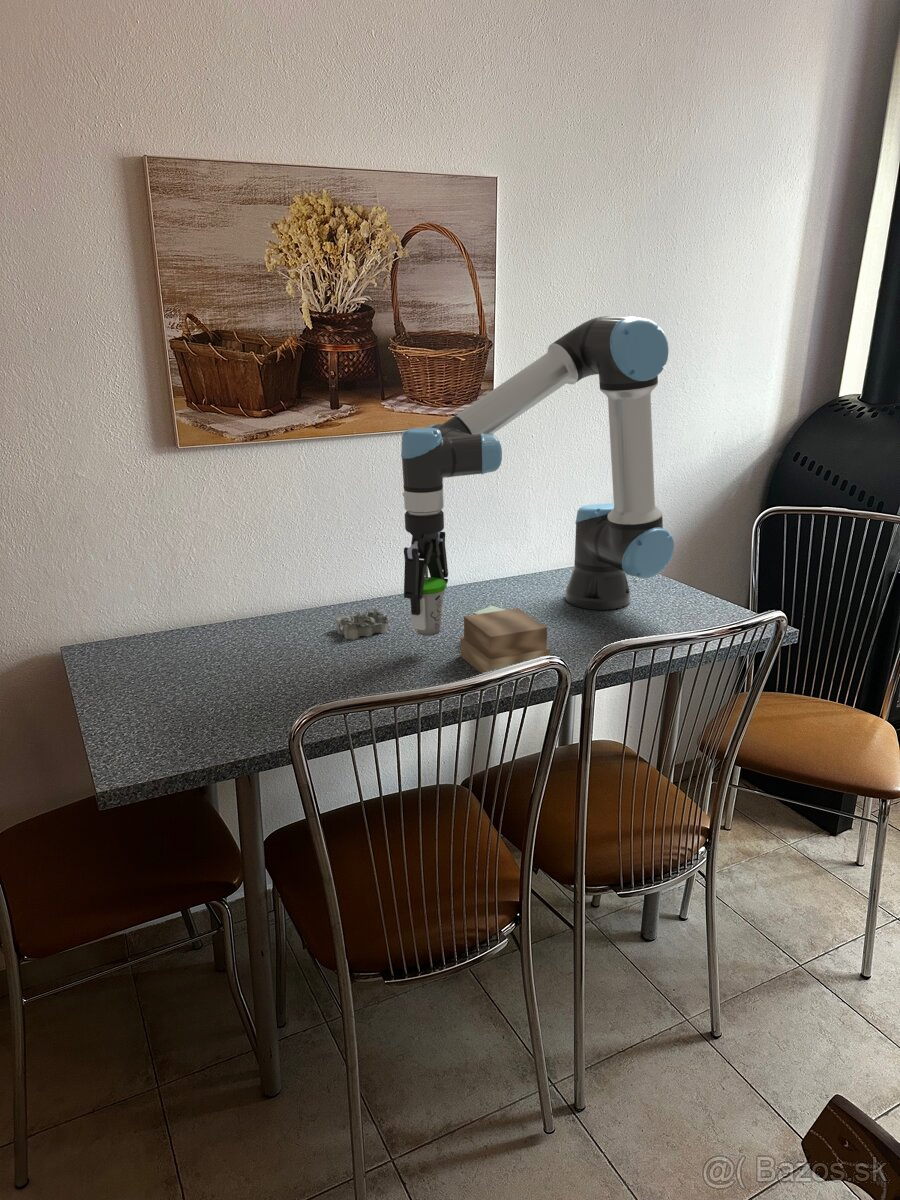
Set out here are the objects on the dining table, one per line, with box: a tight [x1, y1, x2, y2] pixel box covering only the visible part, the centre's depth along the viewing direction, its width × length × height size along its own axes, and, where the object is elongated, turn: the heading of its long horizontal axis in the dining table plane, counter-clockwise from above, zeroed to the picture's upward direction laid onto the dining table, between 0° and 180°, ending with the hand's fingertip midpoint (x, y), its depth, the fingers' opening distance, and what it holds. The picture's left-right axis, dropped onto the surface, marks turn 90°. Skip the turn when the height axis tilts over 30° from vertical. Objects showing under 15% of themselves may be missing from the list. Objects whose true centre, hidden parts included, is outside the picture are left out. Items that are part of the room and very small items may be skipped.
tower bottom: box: [459, 636, 551, 674], centre depth 170 cm, size 13×13×4 cm
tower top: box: [463, 607, 548, 659], centre depth 168 cm, size 12×12×4 cm
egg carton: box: [334, 608, 391, 640], centre depth 186 cm, size 11×8×4 cm
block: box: [472, 605, 506, 615], centre depth 181 cm, size 6×6×6 cm
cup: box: [416, 565, 448, 637], centre depth 171 cm, size 8×8×15 cm
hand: (428, 621), depth 173 cm, fingers closed on cup, 8 cm apart
